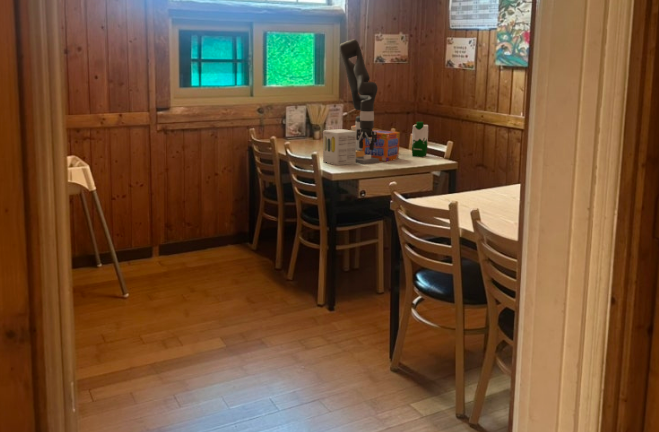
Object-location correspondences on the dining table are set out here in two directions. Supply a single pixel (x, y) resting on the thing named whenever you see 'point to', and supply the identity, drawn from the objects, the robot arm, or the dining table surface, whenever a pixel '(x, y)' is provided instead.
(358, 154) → the breaker paddle
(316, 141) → the dining table surface
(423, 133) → the milk carton
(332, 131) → the supplement box
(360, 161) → the breaker panel
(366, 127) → the robot arm
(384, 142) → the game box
